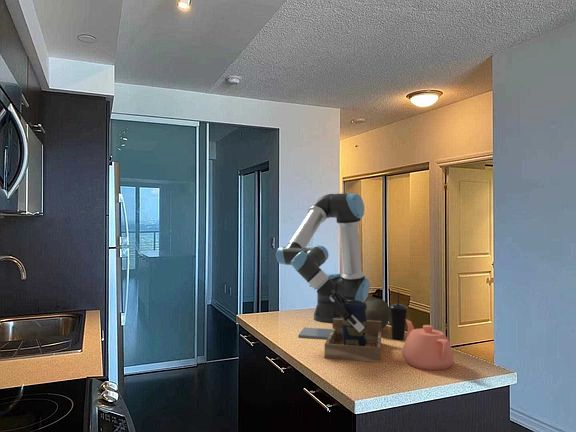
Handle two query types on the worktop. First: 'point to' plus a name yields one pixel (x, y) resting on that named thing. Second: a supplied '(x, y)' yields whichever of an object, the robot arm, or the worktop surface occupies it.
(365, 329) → the canister
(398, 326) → the drinking cup
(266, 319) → the worktop surface
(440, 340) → the teapot
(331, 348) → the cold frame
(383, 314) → the kiwi fruit
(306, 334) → the slate tile
